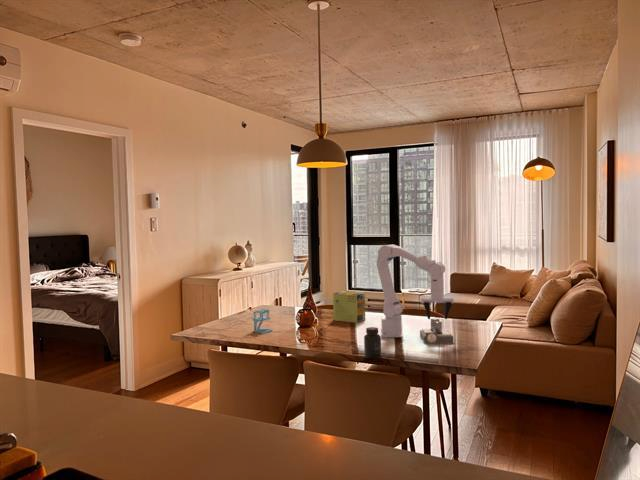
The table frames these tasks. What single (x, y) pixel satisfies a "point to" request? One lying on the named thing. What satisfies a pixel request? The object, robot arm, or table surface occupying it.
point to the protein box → (349, 306)
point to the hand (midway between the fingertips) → (437, 318)
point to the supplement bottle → (372, 343)
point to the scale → (436, 336)
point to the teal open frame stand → (261, 321)
